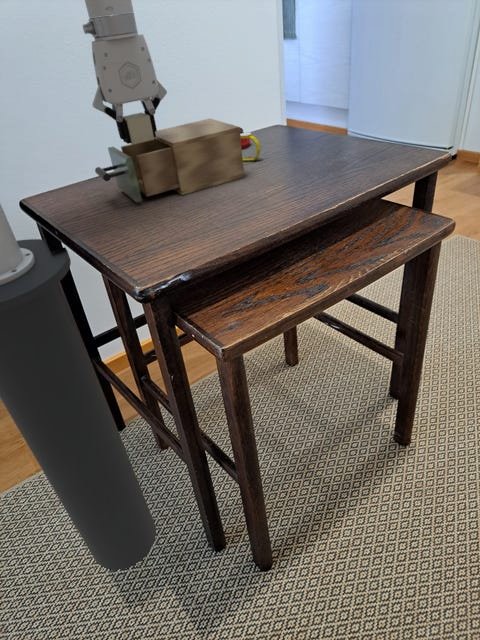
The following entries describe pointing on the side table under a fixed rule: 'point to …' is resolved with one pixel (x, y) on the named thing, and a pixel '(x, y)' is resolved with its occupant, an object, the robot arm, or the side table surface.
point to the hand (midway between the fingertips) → (139, 138)
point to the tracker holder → (244, 140)
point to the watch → (249, 135)
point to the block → (139, 128)
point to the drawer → (142, 169)
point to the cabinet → (204, 153)
